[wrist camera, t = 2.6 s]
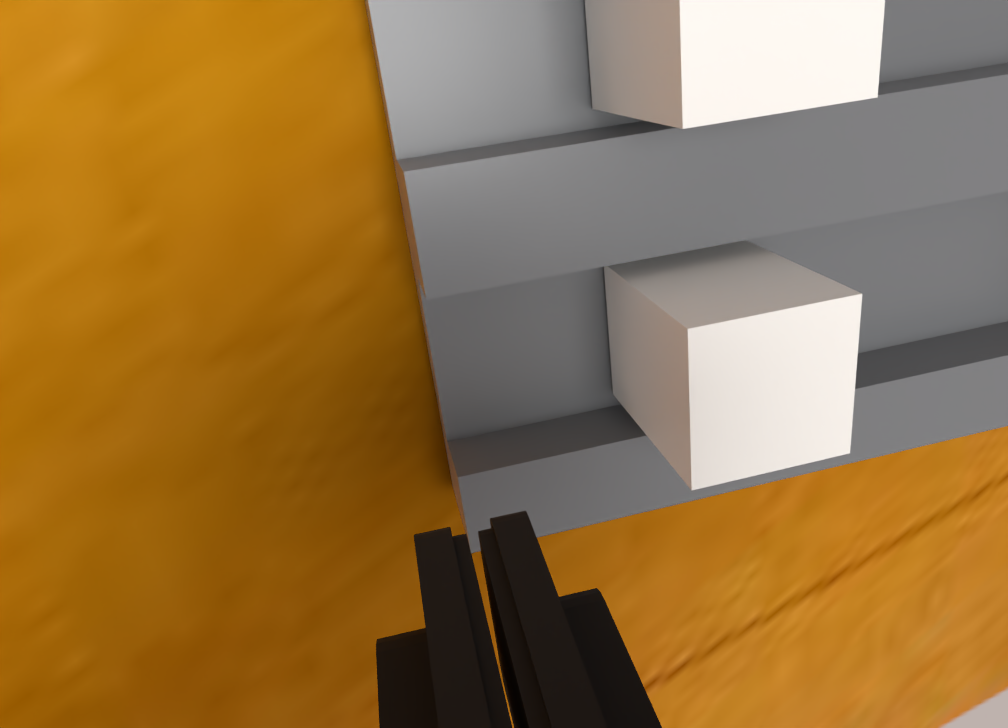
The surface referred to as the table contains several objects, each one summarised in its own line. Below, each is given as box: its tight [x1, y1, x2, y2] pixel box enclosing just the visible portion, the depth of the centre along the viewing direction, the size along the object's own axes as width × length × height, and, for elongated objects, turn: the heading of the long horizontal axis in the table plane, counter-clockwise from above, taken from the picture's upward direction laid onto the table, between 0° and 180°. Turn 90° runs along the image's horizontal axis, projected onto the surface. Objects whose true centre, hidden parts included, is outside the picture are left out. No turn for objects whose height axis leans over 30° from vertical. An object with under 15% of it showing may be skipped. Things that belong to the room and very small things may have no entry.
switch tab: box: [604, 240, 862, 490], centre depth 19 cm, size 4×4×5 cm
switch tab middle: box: [585, 0, 885, 129], centre depth 16 cm, size 4×4×5 cm
